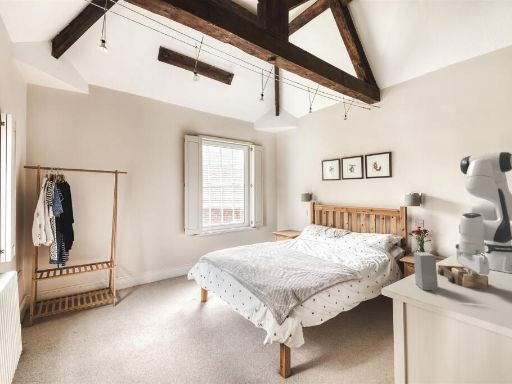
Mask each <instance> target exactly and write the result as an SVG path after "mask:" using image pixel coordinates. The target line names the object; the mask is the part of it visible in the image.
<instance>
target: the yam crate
mask: <svg viewBox="0 0 512 384" xmlns="http://www.w3.org/2000/svg"><path fill="white" fill-rule="evenodd" d="M452 272H453V273H454V274H456V275H458V276H459V277H461V280H463V274H468V271H467V269H465V268H452Z"/></svg>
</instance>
